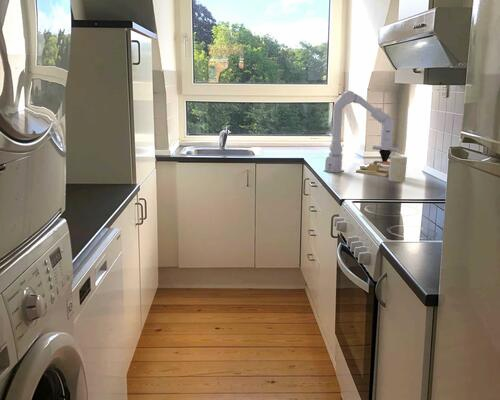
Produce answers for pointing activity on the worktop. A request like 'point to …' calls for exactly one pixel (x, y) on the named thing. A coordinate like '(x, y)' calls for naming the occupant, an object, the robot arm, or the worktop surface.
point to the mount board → (372, 172)
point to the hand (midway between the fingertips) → (384, 163)
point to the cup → (397, 168)
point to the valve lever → (382, 162)
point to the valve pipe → (374, 168)
